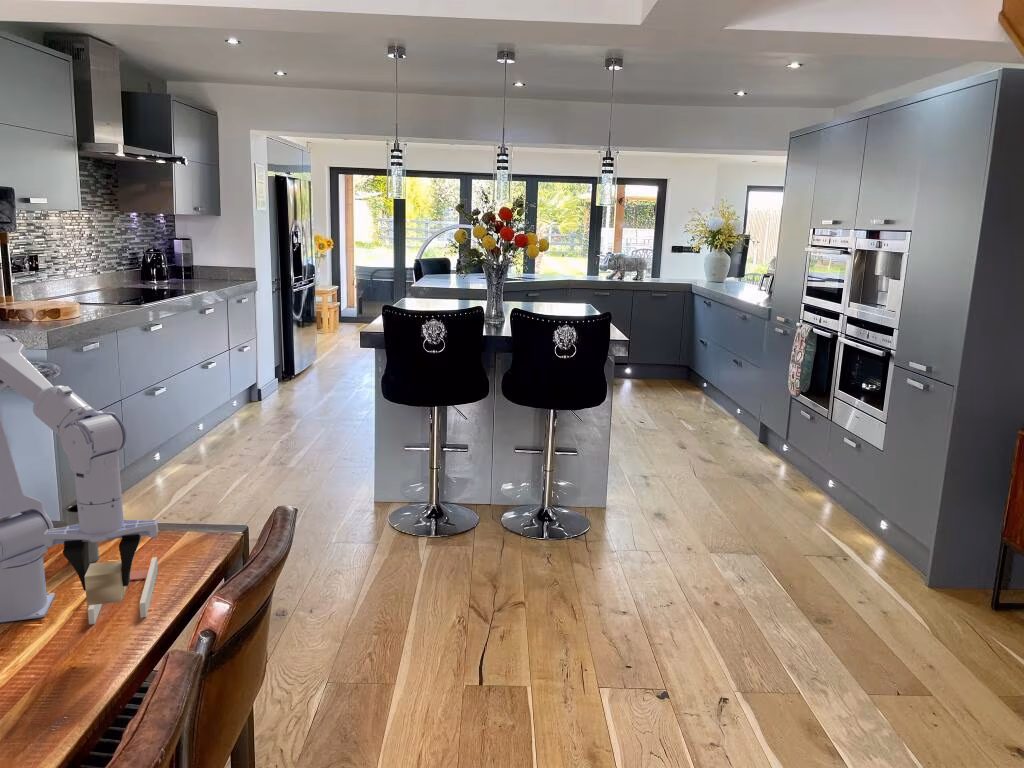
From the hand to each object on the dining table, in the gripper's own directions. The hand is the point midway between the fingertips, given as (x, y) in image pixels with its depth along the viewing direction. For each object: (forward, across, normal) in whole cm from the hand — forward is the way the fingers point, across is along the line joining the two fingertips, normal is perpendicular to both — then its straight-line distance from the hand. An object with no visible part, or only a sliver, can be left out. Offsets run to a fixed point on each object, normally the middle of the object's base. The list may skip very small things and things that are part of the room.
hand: (107, 585), depth 114 cm
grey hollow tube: (+9, -9, +32) cm, 34 cm away
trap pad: (+9, 0, +22) cm, 24 cm away
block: (+2, 0, -1) cm, 2 cm away
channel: (+9, 0, +15) cm, 17 cm away
